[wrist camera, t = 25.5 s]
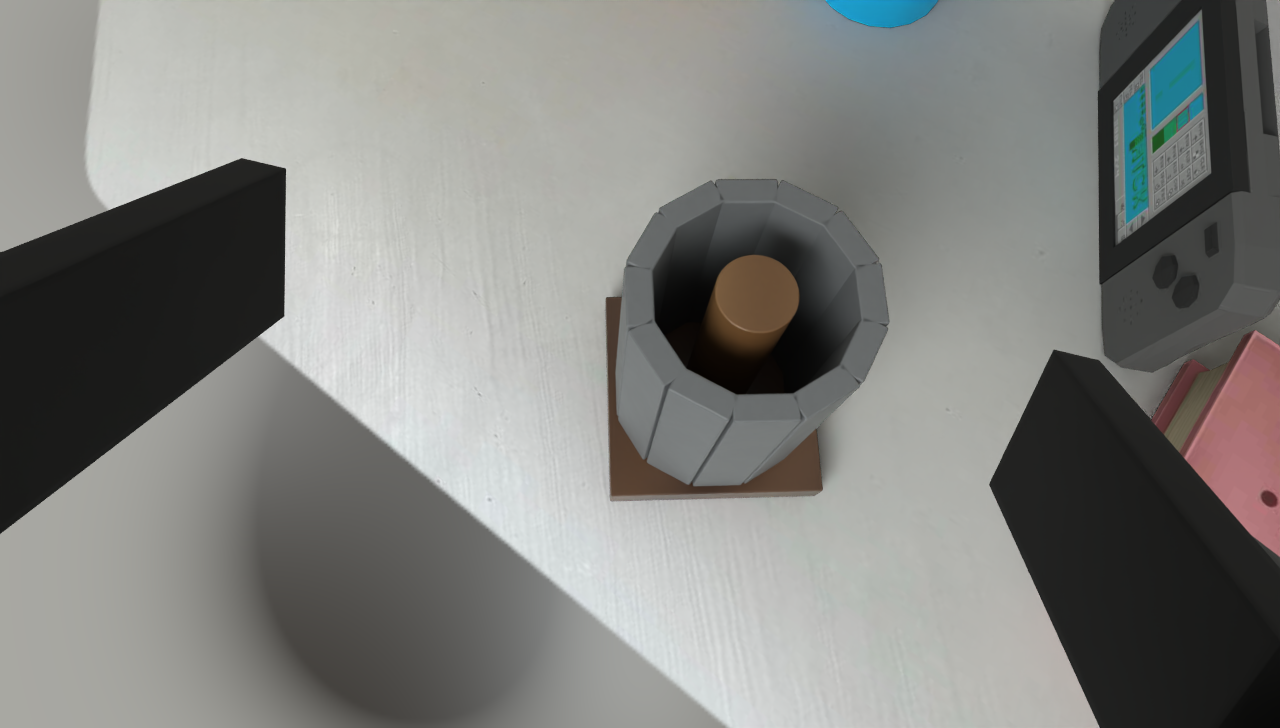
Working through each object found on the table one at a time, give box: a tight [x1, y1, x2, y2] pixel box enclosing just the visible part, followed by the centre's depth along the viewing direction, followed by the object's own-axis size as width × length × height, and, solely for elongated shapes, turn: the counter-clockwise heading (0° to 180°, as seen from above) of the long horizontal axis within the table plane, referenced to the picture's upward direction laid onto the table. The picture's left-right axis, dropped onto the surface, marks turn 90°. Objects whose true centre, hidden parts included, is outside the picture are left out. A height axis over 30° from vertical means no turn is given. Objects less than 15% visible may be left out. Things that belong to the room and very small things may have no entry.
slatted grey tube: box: [615, 179, 889, 486], centre depth 35 cm, size 9×9×12 cm
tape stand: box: [605, 255, 823, 501], centre depth 36 cm, size 10×10×14 cm
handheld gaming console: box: [1098, 0, 1280, 373], centre depth 43 cm, size 23×3×10 cm, turn 170°
